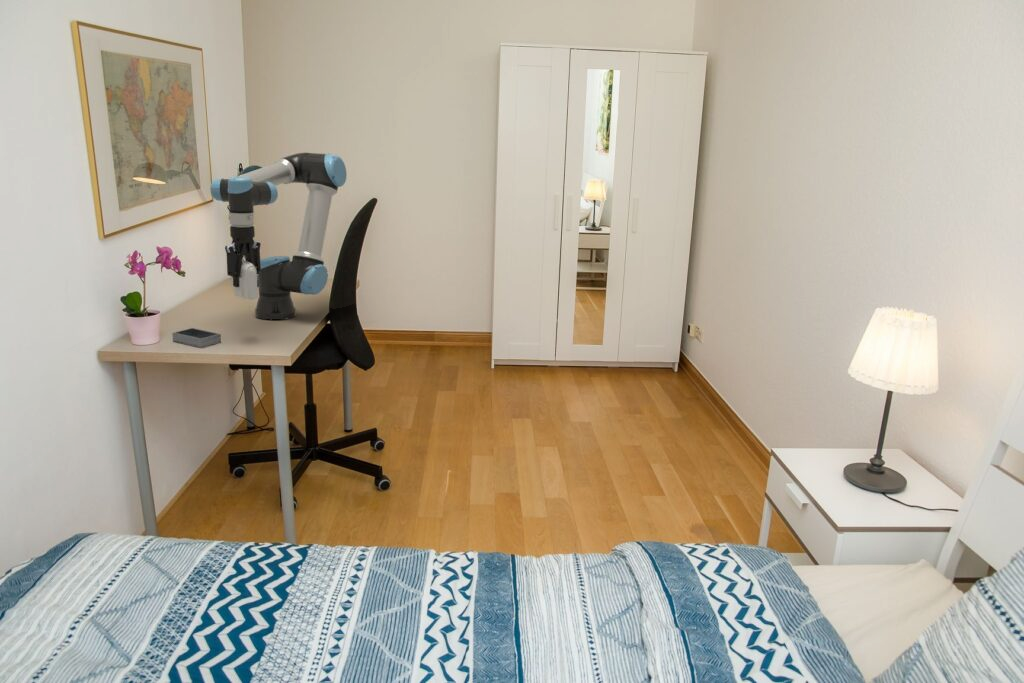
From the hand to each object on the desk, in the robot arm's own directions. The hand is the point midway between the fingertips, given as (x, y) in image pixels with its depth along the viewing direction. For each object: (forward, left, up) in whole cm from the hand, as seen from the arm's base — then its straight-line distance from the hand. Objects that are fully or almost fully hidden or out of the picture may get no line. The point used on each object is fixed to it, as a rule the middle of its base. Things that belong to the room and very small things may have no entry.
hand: (245, 294), depth 247 cm
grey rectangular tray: (+11, -12, -16) cm, 23 cm away
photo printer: (0, 0, -1) cm, 1 cm away
